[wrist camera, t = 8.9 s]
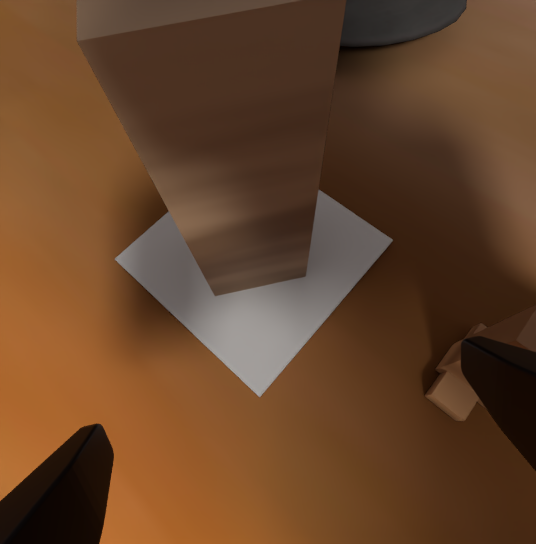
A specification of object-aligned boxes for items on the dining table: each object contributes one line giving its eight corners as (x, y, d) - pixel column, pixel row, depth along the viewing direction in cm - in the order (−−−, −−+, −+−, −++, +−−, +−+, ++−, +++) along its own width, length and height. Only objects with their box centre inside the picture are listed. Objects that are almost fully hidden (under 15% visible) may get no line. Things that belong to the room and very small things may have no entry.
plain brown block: (305, 276, 17) (347, -9, 6) (214, 296, 17) (77, 41, 6) (286, 207, 19) (289, -123, 8) (202, 224, 19) (76, -88, 7)
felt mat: (259, 397, 16) (259, 396, 15) (116, 261, 19) (114, 259, 18) (391, 242, 18) (393, 239, 18) (248, 144, 21) (248, 141, 21)
